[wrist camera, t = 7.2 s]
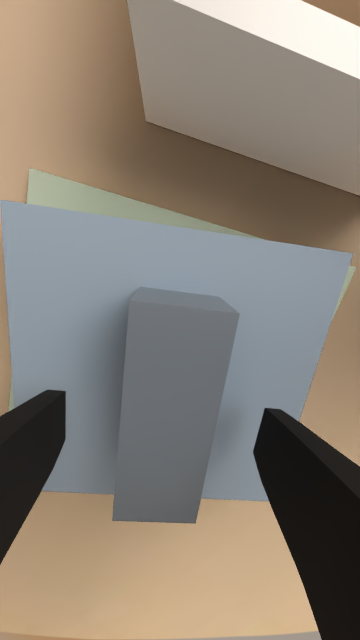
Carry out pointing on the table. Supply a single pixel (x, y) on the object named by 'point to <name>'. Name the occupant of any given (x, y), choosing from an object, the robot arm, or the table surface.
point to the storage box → (257, 79)
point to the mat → (117, 212)
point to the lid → (161, 350)
